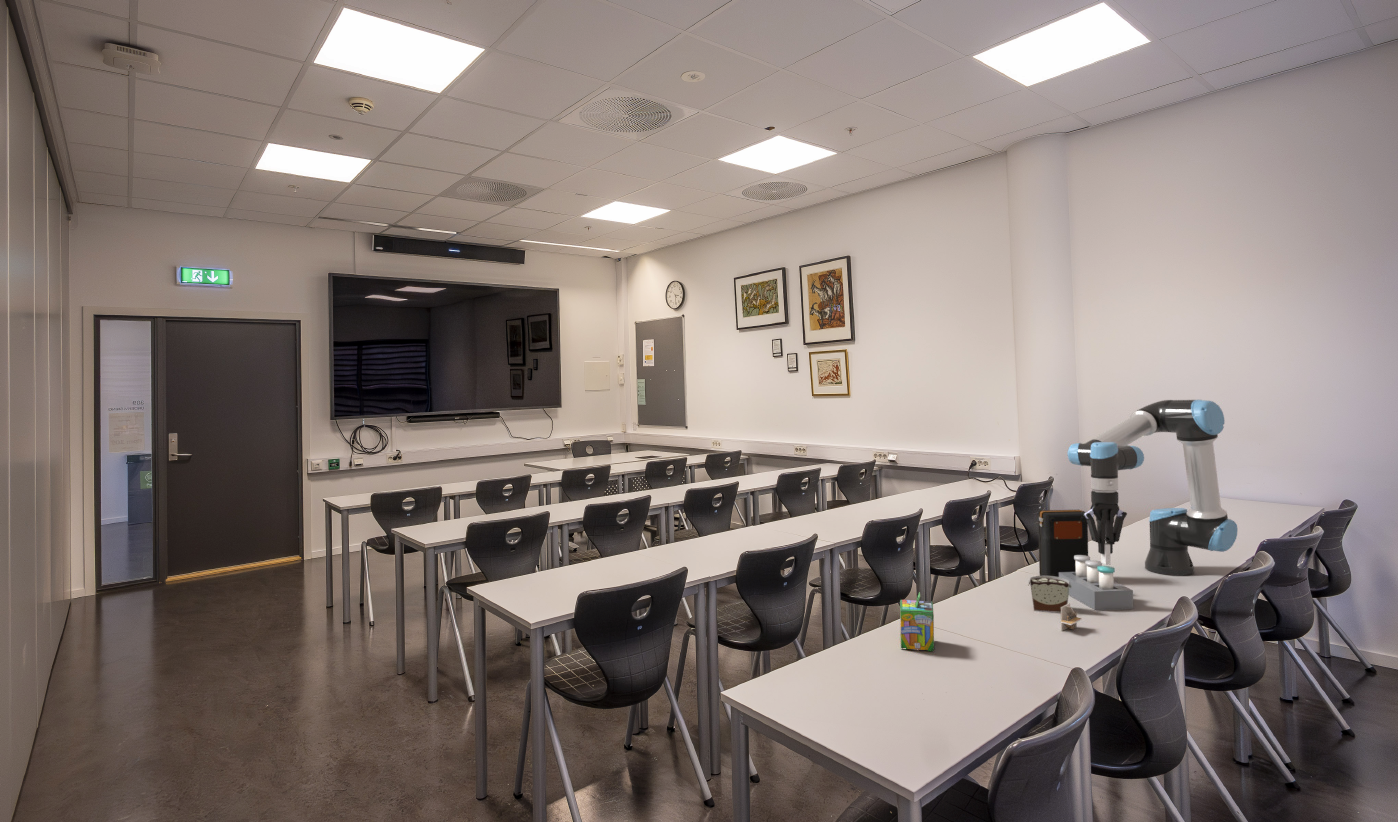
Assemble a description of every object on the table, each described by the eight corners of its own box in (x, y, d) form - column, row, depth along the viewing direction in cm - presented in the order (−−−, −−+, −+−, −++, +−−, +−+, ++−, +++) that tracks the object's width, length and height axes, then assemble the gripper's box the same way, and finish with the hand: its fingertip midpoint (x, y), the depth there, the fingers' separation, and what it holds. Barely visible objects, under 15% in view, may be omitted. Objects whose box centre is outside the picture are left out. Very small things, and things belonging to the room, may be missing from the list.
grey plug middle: (1097, 583, 230) (1096, 559, 229) (1105, 587, 225) (1105, 563, 224) (1082, 583, 230) (1082, 560, 229) (1090, 588, 225) (1090, 564, 225)
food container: (1068, 606, 221) (1067, 576, 220) (1072, 613, 215) (1071, 581, 214) (1026, 604, 225) (1025, 574, 224) (1028, 610, 219) (1028, 579, 218)
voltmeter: (1081, 575, 254) (1079, 508, 253) (1092, 582, 245) (1091, 512, 244) (1037, 575, 255) (1035, 509, 254) (1046, 582, 247) (1045, 513, 246)
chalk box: (900, 637, 200) (898, 587, 200) (933, 640, 197) (932, 589, 197) (900, 650, 191) (898, 597, 191) (935, 652, 189) (933, 599, 188)
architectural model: (1082, 630, 201) (1081, 605, 201) (1071, 636, 197) (1071, 611, 197) (1070, 627, 204) (1069, 602, 204) (1059, 633, 200) (1058, 608, 200)
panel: (1093, 588, 238) (1093, 571, 238) (1133, 608, 216) (1132, 590, 216) (1059, 589, 238) (1058, 572, 238) (1094, 610, 216) (1094, 591, 216)
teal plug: (1109, 589, 223) (1109, 565, 222) (1118, 594, 218) (1117, 569, 217) (1094, 590, 223) (1094, 565, 222) (1103, 594, 218) (1102, 569, 218)
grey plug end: (1085, 577, 237) (1085, 554, 236) (1093, 581, 232) (1093, 558, 231) (1071, 578, 237) (1071, 555, 236) (1079, 582, 232) (1078, 558, 232)
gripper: (1090, 493, 215) (1091, 567, 216) (1132, 491, 215) (1133, 566, 216) (1077, 489, 223) (1078, 561, 224) (1118, 488, 223) (1119, 559, 224)
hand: (1105, 563), depth 220 cm, fingers closed
